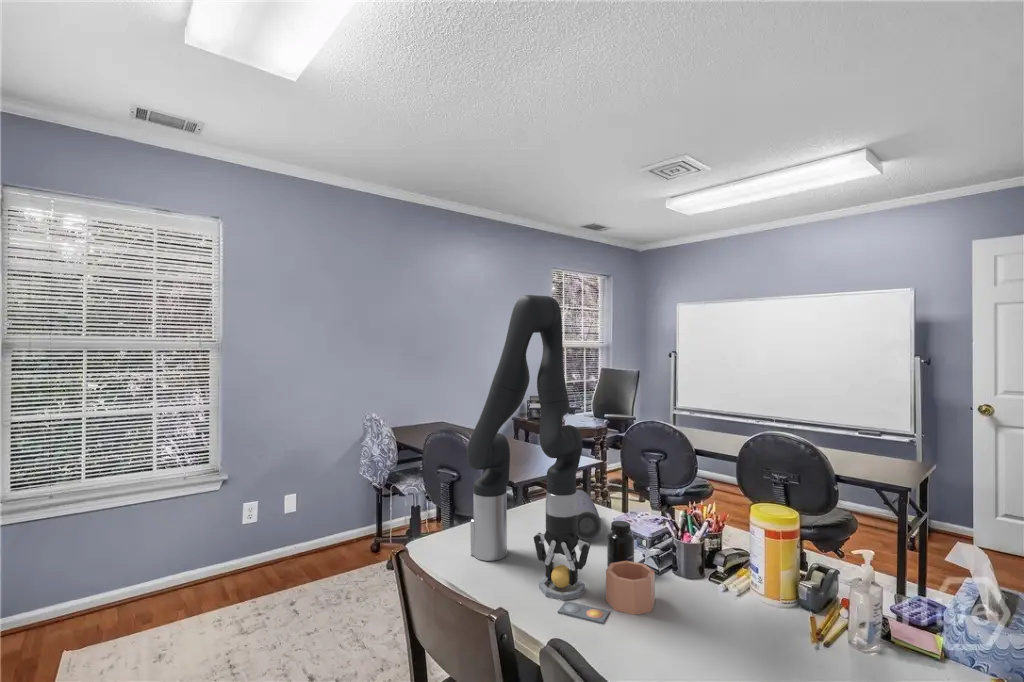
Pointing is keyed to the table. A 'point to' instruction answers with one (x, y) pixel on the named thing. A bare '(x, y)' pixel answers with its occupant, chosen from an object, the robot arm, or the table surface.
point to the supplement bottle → (620, 543)
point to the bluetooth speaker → (587, 517)
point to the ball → (561, 576)
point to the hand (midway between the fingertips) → (561, 581)
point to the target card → (584, 612)
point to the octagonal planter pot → (630, 587)
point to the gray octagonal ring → (558, 594)
